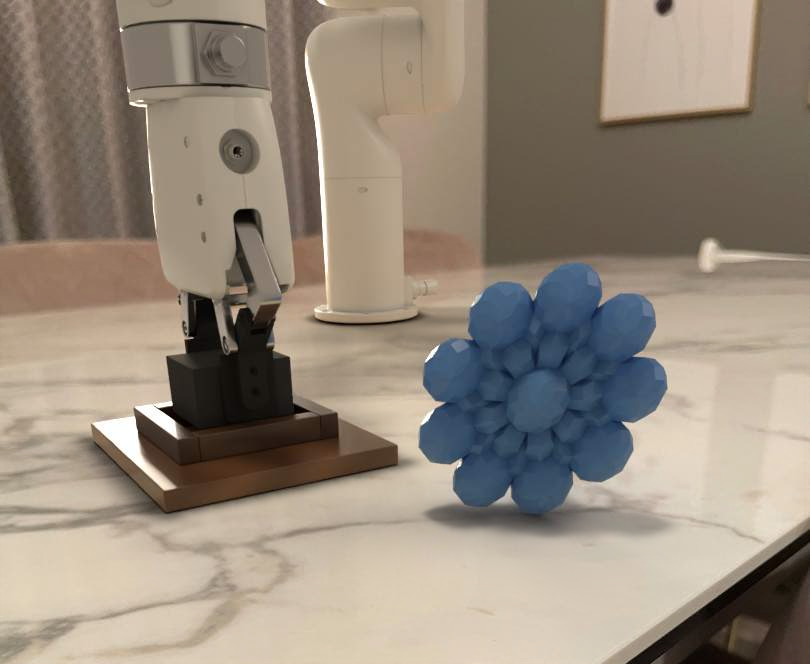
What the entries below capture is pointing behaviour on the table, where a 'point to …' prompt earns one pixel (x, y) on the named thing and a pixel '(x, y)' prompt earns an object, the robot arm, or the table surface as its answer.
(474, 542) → the table surface
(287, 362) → the dark grey block
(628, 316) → the blue flower ornament
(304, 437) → the wooden socket base
